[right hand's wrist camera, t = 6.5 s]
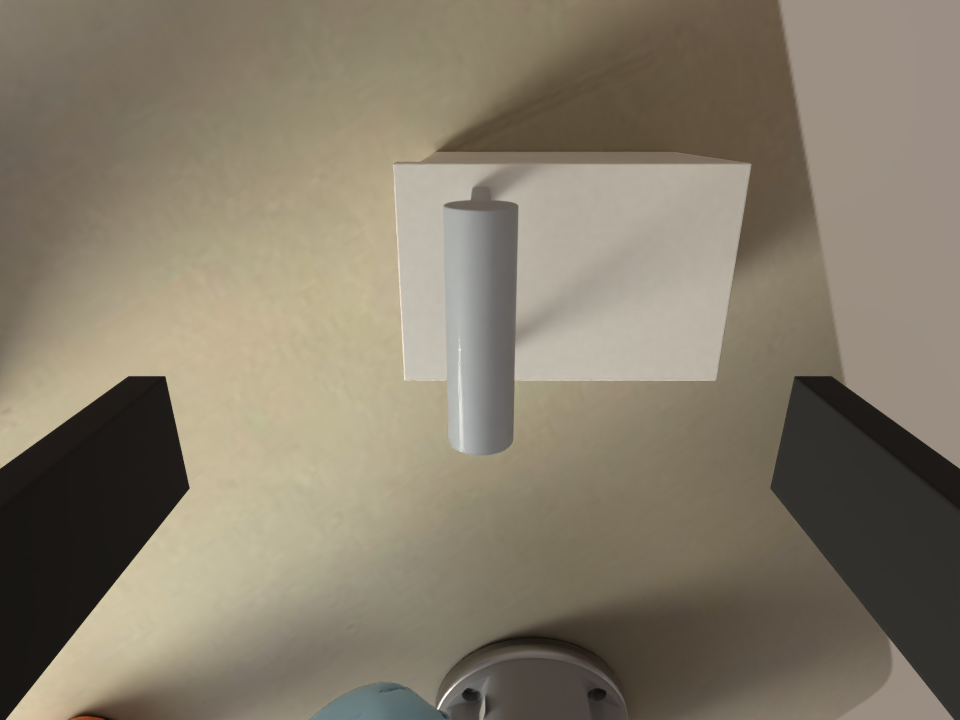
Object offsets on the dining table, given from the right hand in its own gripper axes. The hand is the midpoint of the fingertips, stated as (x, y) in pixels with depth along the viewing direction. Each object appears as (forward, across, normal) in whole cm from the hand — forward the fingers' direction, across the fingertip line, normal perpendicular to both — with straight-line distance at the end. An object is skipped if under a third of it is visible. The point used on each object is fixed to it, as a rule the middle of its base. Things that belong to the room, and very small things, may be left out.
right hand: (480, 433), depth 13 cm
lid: (+14, -4, 0) cm, 14 cm away
